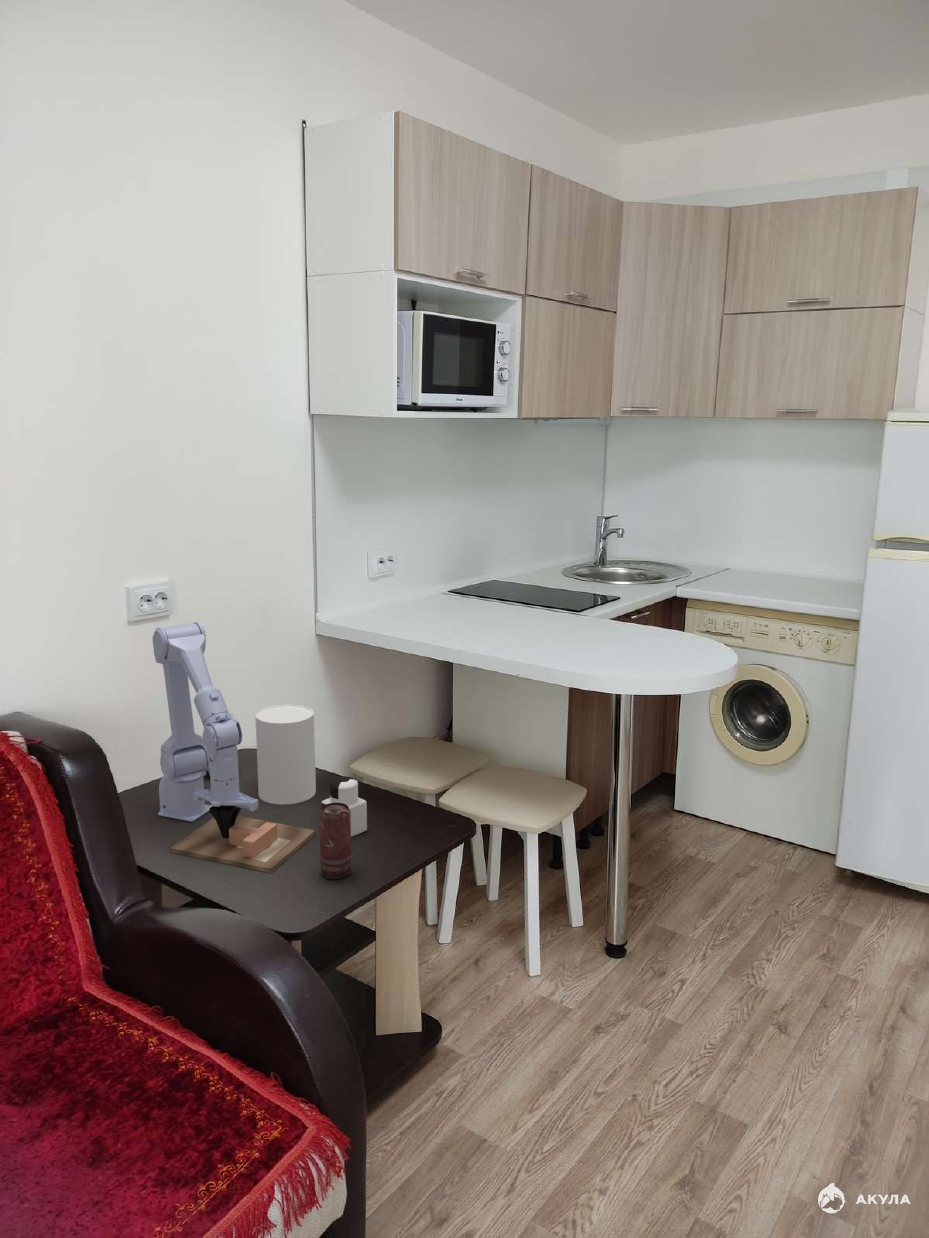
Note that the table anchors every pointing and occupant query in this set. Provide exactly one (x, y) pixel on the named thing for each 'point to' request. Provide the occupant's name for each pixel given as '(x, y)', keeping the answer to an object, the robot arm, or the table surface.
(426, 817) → the table surface
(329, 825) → the can
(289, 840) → the board
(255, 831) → the t block
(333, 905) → the table surface
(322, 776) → the table surface
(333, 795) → the medicine bottle
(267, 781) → the canister
